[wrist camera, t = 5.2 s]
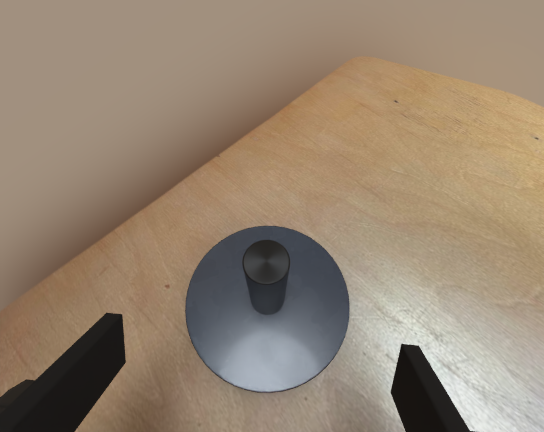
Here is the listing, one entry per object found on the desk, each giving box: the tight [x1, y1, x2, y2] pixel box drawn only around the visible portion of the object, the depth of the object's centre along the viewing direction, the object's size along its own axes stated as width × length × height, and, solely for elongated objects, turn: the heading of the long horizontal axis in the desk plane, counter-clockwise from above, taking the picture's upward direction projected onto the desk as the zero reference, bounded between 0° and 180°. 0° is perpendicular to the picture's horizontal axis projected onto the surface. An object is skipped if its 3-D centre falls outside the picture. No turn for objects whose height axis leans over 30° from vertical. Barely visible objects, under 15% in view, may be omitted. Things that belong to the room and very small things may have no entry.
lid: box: [185, 226, 349, 393], centre depth 21 cm, size 14×14×10 cm
